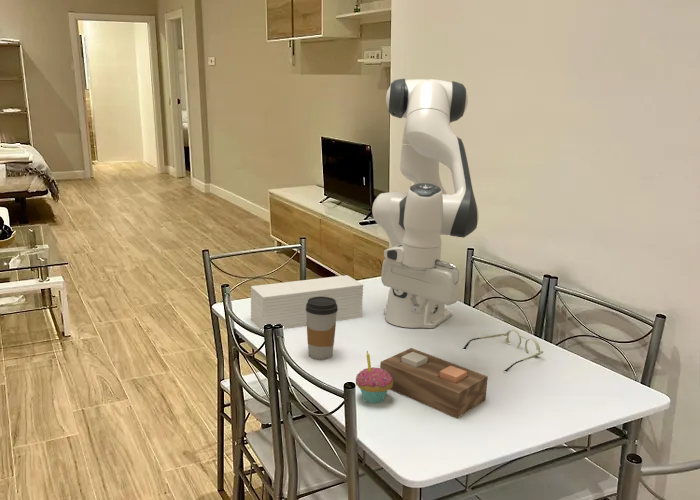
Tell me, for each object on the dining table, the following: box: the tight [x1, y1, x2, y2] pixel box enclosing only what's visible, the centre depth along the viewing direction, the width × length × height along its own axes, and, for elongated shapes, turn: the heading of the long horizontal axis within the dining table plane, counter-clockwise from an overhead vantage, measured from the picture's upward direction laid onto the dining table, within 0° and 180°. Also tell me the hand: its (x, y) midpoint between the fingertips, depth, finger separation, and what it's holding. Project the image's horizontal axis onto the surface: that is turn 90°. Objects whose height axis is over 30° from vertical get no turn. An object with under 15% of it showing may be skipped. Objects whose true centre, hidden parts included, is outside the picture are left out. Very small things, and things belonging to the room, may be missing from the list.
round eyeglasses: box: [462, 329, 544, 372], centre depth 175 cm, size 17×15×5 cm
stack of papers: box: [250, 274, 364, 330], centre depth 196 cm, size 32×11×11 cm, turn 117°
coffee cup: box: [306, 297, 338, 360], centre depth 169 cm, size 8×8×15 cm
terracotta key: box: [439, 366, 467, 384], centre depth 148 cm, size 4×4×4 cm
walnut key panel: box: [379, 347, 489, 419], centre depth 152 cm, size 12×22×6 cm, turn 47°
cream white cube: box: [401, 352, 428, 368], centre depth 155 cm, size 4×4×4 cm
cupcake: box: [355, 350, 393, 404], centre depth 147 cm, size 9×8×12 cm
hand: (417, 312), depth 152 cm, fingers closed
